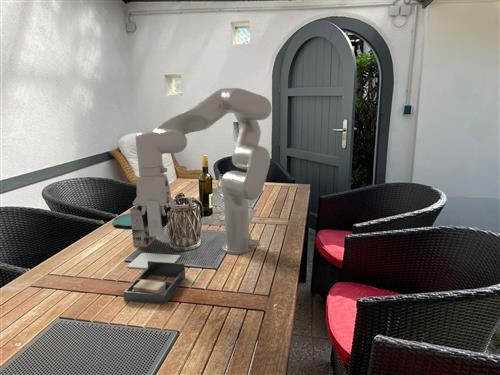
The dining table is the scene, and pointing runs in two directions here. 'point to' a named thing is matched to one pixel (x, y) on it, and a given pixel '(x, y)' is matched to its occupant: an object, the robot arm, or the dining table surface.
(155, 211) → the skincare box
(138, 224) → the coffee box
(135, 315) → the dining table surface
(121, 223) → the green flat slab
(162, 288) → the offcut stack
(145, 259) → the board
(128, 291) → the tray
